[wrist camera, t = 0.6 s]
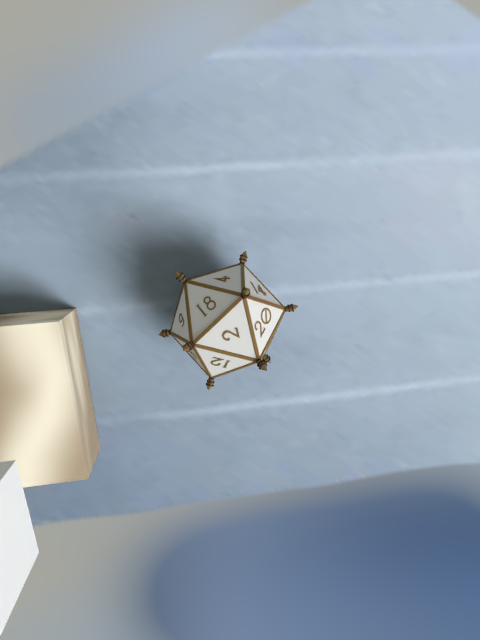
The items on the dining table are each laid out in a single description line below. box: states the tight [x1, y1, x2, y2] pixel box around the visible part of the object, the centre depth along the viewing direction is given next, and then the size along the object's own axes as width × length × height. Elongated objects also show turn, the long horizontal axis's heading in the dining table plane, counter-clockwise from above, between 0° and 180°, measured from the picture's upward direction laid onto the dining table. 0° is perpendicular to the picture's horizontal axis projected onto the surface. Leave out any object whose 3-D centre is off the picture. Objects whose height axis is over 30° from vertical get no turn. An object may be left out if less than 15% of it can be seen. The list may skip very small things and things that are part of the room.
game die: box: [159, 251, 298, 390], centre depth 27 cm, size 9×8×10 cm
